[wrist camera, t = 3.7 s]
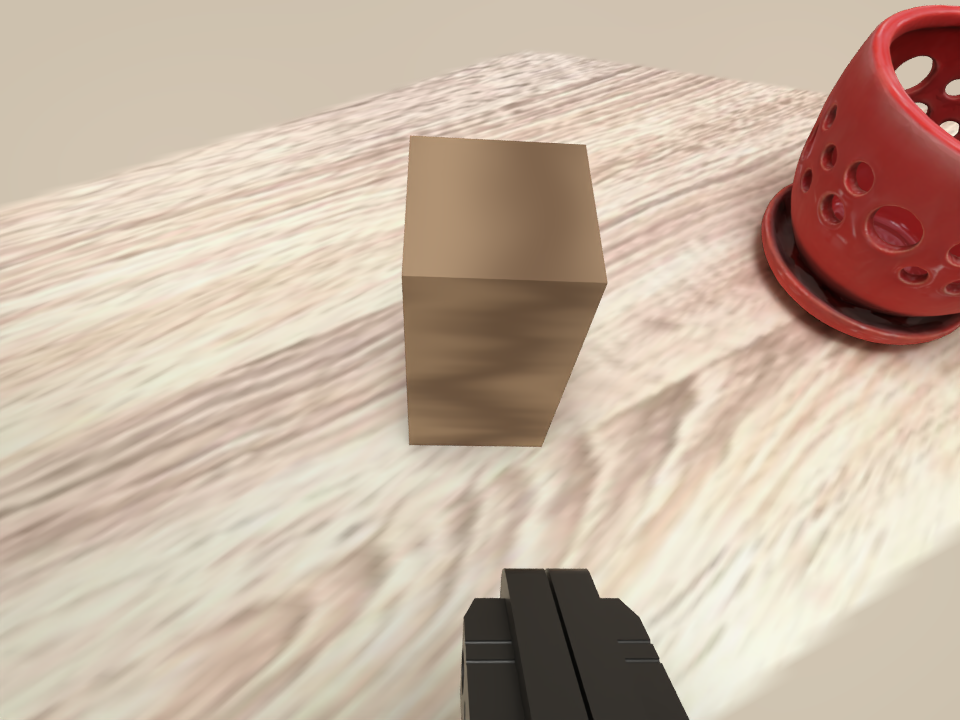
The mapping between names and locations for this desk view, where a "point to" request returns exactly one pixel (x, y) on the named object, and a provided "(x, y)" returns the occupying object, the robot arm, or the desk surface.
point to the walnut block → (495, 286)
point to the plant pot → (879, 193)
